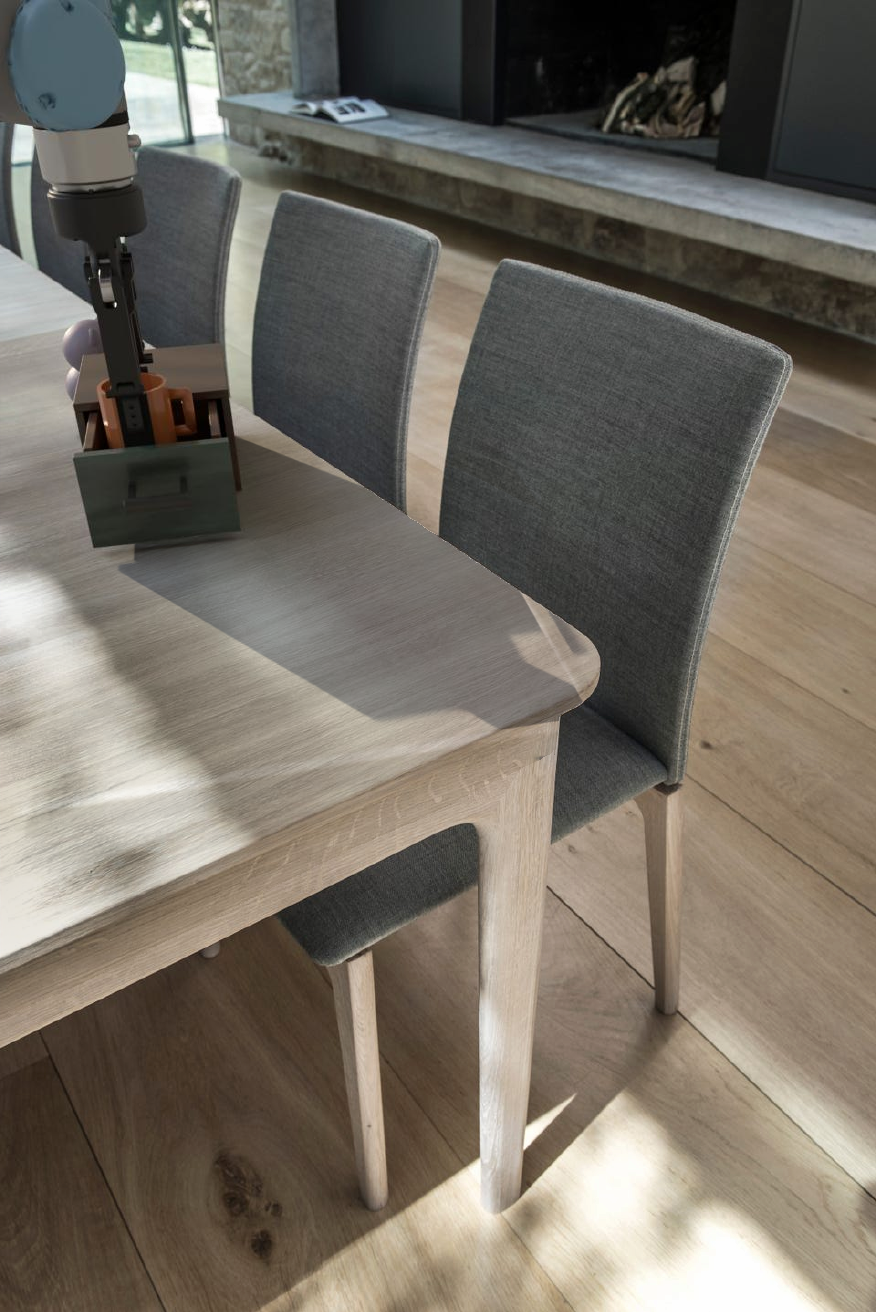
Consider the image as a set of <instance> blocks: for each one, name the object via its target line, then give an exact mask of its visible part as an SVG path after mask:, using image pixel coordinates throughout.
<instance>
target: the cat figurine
mask: <svg viewBox="0 0 876 1312" xmlns="http://www.w3.org/2000/svg"><path fill="white" fill-rule="evenodd" d="M61 348H62V354H63V356H64V359H65V361H66V362H67V363H68V365H70V366H71V368H70V370H69V371H68V373H67V375H66V378H65V390H66V393H67V396H68V397H69V399H70V400H71V401H72V402H73V401H74V396H75V392H76V387H77V382H78V378H79V373H80V368H81V364H82V359H83V355H89V354H101V353H104V350H103V345H102V340H101V334H100V329H99V324H98V319H97V316H96V317H95V318H94V319H93V318H91V319H90V318H88V319H83V320H79V321H77V322H75V323H73V324H72V325H71V326H70V327H69V328H68V329H66V332H65V333H64V334H63V337H62V342H61Z"/></svg>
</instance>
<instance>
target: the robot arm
mask: <svg viewBox="0 0 876 1312" xmlns="http://www.w3.org/2000/svg"><path fill="white" fill-rule="evenodd" d="M113 15H114V14H113V10H112V6H111V1H110V0H0V123H8V124H14V125H20V126H21V125H22V126H29V127H31V131H32V134H33V140H34V144H35V150H36V154H37V157H38V158H37V159H38V163H39V167H40V172H41V176H42V180H44V181H45V182H46V183H48V184H49V185H51V187H50V188H49V190H48V192H47V193H46V197H47V200H48V205H49V210H50V215H51V220H52V224H53V227H54V231H55V234H56V235H57V236H58V237H59V238H61V239H63V240H66V241H70V242H71V241H72V242H77V241H82V242H84V243H86V244H87V247H88V254H85V255H84V261H82V268H83V274H84V279H85V282H87V284H88V289H89V292H90V296H91V303H92V309H93V311H94V313H95V315H96V317H97V319H98V324H99V329H100V334H101V340H102V345H103V350H104V355H105V360H106V365H107V370H108V375H109V380H110V385H111V387H110V391H108V392H105V395H106V399H110V398H115V402H116V407H117V412H118V417H119V422H120V427H121V431H122V436H123V441H124V446H125V448H128V447H138V446H148V445H156V441H155V436H154V431H153V425H152V420H151V414H150V409H149V404H148V398H147V393H146V391H145V387H144V385H143V384H142V378H141V373H148V368H147V366H145V367H141V365H140V364H151V363H154V362H153V355H152V353H147V354H144V350H146V343H145V341H144V339H143V334H142V329H141V324H140V318H139V313H138V309H137V308H138V307H137V302H136V301H137V299H138V294H137V286H136V282H135V261H134V257H133V253H132V251H129V250H128V246H127V245H126V242H122V239H121V238H130V237H133V236H136V235H139V234H141V233H143V232H144V231H145V230H146V228H147V227H148V220H147V219H148V218H147V212H146V207H145V202H144V201H145V200H144V195H143V189H142V186H141V185H140V184H139V182H137V181H135V180H132V178H134V177H135V176H136V175H137V173H138V171H139V169H138V164H137V158H136V152H135V151H134V149H137V148H140V147H141V146H142V139H141V138H140V135H139V134H136V133H133V134H129V133H130V130H131V123H130V117H129V111H128V110H129V109H128V103H127V97H126V91H125V83H126V75H127V71H126V67H127V66H126V59H125V54H124V49H123V47H122V43H121V40H120V38H119V35H118V33H117V32H116V29H117V25H116V21H115V18H114V16H113Z"/></svg>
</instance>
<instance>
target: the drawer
mask: <svg viewBox="0 0 876 1312" xmlns="http://www.w3.org/2000/svg"><path fill="white" fill-rule="evenodd" d="M171 405H172V410H173V416H174V422H175V426H177V425H186V423H185V417H184V411H183V406H182V402H174V403H171ZM193 405H194V411H195V417H196V423H197V433H196V434H194V435H187V436H178V437H177V439H178V442H177V443H167V444H157V445H148V446H138V447H128V448H118V449H109V444H108V440H107V435H106V430H105V426H104V421H103V416H102V412H101V410H91V411H90V413H89V419H88V425H87V431H86V437H85V442H84V448H82V451H80V452H73V455H72V462H73V466H74V470H75V475H76V480H77V483H78V488H79V493H80V497H81V501H82V506H83V511H84V513H85V517H86V518H85V519H86V523H87V526H88V531H89V535H90V540H91V544H92V547H93V549H101V548H109V547H116V546H126V545H133V544H142V543H150V542H161V541H168V540H177V539H184V538H185V539H186V538H193V537H203V536H209V535H219V534H220V535H221V534H227V533H234V532H235V533H236V532H242V525H241V517H240V510H239V504H238V496H237V490H236V488H235V481H234V474H233V467H232V460H231V453H230V446H229V439H228V437H225V438H222V436H221V429H220V423H219V416H218V409H217V402H216V399H205V400H195V401H193ZM83 450H84V452H83Z"/></svg>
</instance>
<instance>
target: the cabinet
mask: <svg viewBox="0 0 876 1312" xmlns="http://www.w3.org/2000/svg"><path fill="white" fill-rule="evenodd" d="M147 353H152V355H153V362H154V363H151V364H140V365H141V367H145V366H147V368H148V373H155V374H159V375H162V376H164V377H165V378H167V382H168V388H169V389H170V388H180V387H188V388H189V389H190V390H191V393H192V399H193V401H195V400H205V399H216V402H217V409H218V416H219V423H220V429H221V436H222V438H225V437H228V439H229V446H230V453H231V460H232V467H233V474H234V481H235V488H236V491H242V490H243V487H242V481H241V473H240V465H239V457H238V451H237V444H236V437H235V436H236V435H235V429H234V422H233V421H234V420H233V416H232V409H231V408H232V407H231V401H230V393H229V386H228V380H227V373H226V372H227V371H226V366H225V361H224V360H225V359H224V353H223V346H222V343H221V342H216V343H215V342H214V343H205V344H204V343H203V344H193V345H182V346H170V347H169V346H168V347H160V348H149V349H148V348H147V349H146V348H145V349H144V354H147ZM106 379H109V375H108V370H107V365H106V360H105V355H104V353H101V354H89V355H83V359H82V364H81V368H80V373H79V378H78V382H77V387H76V392H75V396H74V401H72V407H73V412H74V416H75V422H76V425H77V429H78V434H79V439H80V444H81V448H82V452H84V450H83V448H84V442H85V437H86V431H87V425H88V419H89V413H90V411H91V410H101V407H100V403H99V398H98V393H97V385H98V384H100V383H101V382H102V381H104V380H106ZM174 402H182V400H181V399H173V400H171V403H174Z"/></svg>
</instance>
